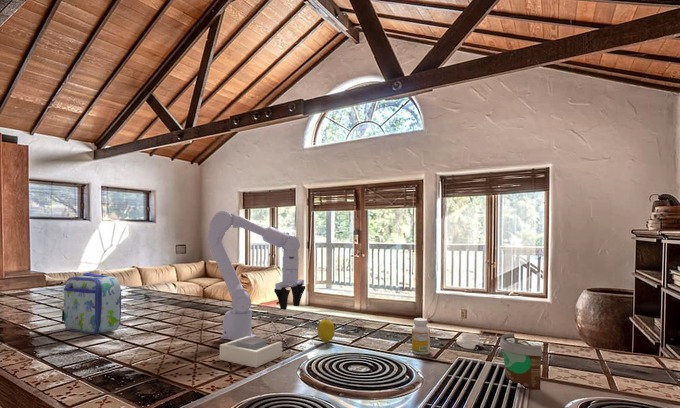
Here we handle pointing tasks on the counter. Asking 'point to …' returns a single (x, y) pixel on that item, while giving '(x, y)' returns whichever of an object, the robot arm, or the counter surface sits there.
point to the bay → (249, 353)
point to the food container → (522, 361)
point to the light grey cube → (252, 343)
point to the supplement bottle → (420, 337)
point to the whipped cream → (469, 340)
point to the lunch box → (92, 303)
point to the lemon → (326, 330)
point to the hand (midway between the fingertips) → (290, 307)
